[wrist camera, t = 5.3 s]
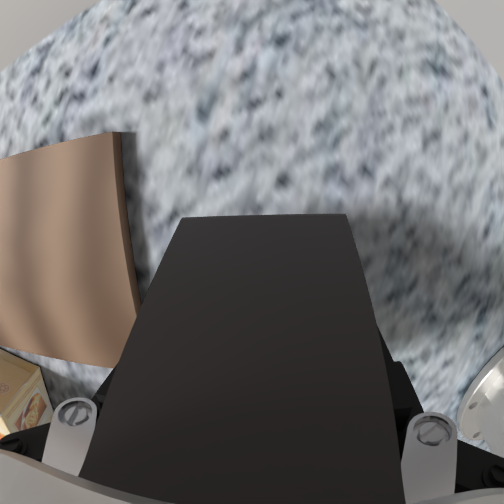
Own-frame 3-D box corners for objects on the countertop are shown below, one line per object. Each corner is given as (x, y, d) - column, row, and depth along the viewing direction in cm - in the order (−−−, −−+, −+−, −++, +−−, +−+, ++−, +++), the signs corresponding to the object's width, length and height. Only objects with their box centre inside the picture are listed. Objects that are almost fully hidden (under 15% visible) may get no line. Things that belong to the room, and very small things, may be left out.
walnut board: (120, 132, 16) (112, 131, 15) (154, 364, 20) (150, 373, 19) (-36, 173, 17) (-45, 175, 16) (3, 339, 22) (-3, 344, 21)
